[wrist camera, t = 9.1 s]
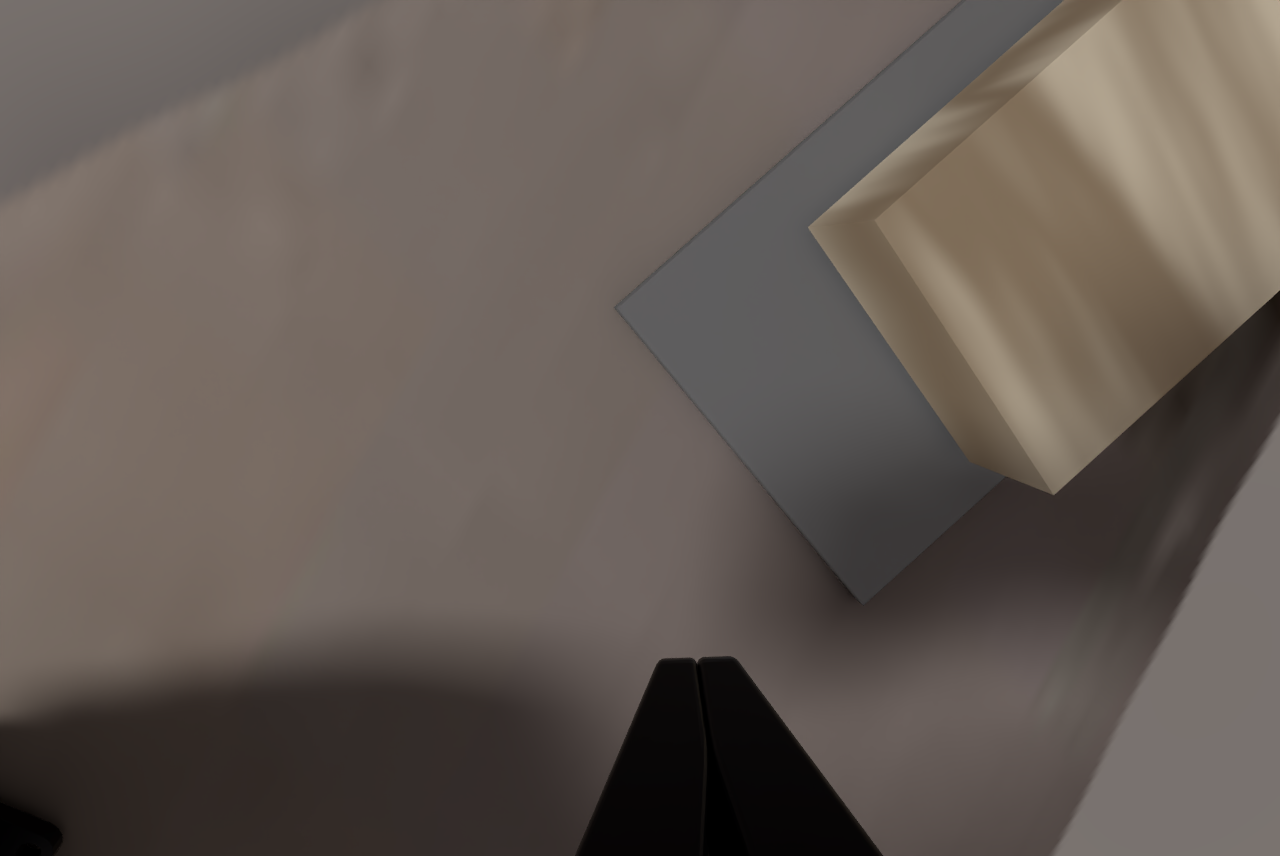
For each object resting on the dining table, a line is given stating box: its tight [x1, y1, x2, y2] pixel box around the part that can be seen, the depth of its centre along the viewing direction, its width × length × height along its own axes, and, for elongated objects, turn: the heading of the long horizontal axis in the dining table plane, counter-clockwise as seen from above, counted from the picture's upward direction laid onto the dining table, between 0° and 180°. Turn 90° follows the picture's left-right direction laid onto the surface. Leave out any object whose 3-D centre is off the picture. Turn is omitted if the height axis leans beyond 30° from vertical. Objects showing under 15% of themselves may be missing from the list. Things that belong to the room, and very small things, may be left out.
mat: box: [614, 0, 1064, 606], centre depth 19 cm, size 16×11×1 cm
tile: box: [808, 0, 1280, 495], centre depth 17 cm, size 3×8×10 cm
